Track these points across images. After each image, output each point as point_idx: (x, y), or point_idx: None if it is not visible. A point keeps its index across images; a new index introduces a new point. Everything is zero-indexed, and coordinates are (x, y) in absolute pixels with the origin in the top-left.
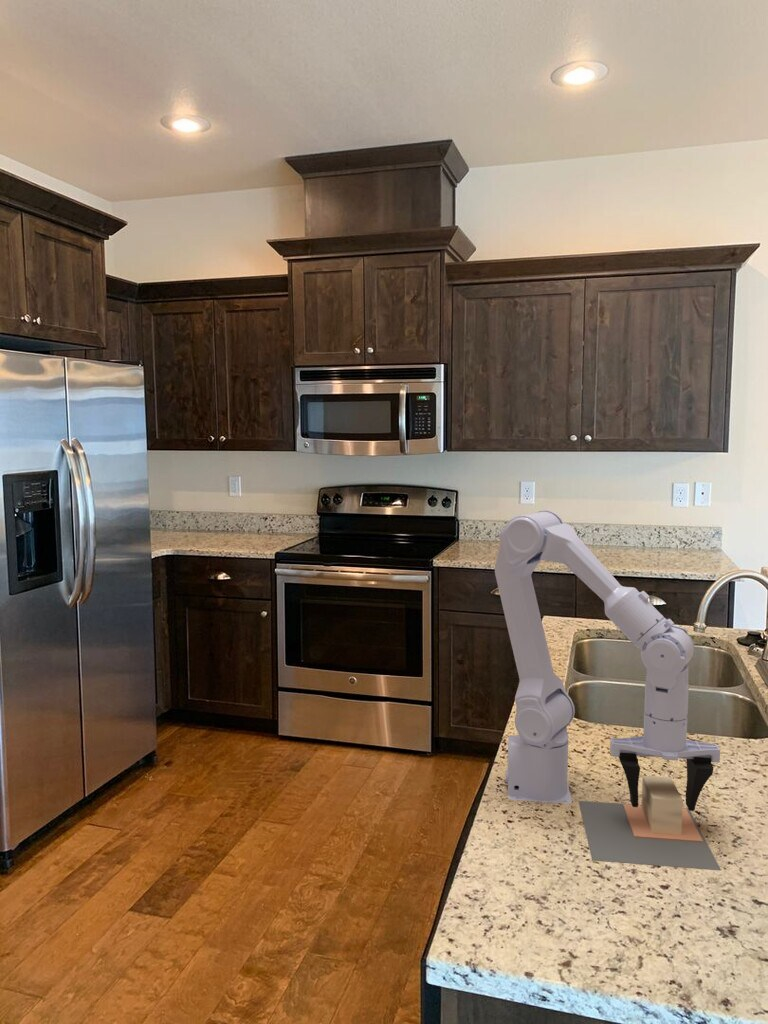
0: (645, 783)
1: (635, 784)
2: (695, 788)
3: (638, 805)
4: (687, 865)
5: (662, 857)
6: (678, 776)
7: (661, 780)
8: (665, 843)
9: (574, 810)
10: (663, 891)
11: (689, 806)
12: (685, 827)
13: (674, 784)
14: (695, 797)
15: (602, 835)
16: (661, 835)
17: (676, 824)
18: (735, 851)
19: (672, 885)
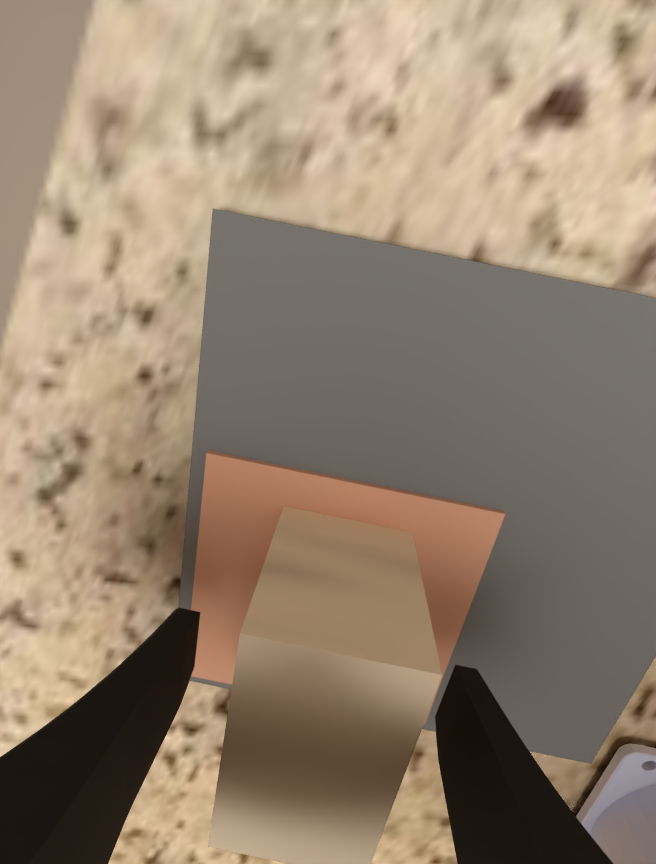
0: (384, 817)
1: (540, 814)
2: (106, 723)
3: None
4: (366, 261)
5: (458, 339)
6: (135, 838)
7: (277, 829)
8: (382, 455)
9: (621, 716)
10: (592, 56)
11: (191, 630)
12: (241, 555)
13: (217, 788)
14: (138, 664)
15: (646, 536)
16: (376, 508)
17: (300, 537)
18: (89, 400)
19: (510, 119)
